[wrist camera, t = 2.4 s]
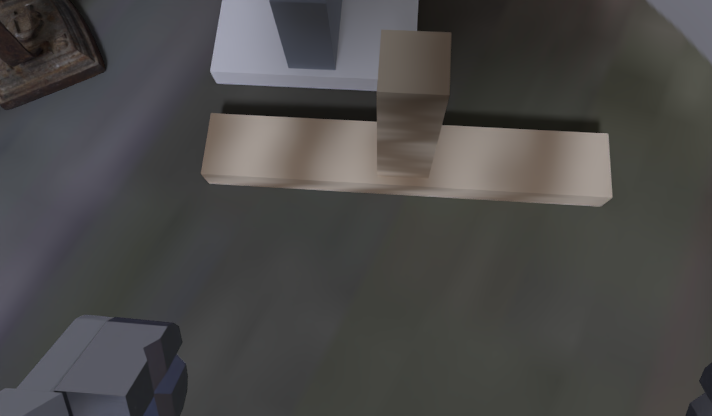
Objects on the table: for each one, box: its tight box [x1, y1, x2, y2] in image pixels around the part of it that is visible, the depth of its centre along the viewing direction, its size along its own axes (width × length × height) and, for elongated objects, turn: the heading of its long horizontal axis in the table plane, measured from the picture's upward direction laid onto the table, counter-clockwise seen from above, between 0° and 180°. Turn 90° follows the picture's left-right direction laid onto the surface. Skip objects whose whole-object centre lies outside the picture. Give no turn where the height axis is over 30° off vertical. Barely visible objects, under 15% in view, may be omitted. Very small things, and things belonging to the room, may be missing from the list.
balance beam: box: [201, 30, 612, 207], centre depth 29 cm, size 24×4×12 cm, turn 86°
